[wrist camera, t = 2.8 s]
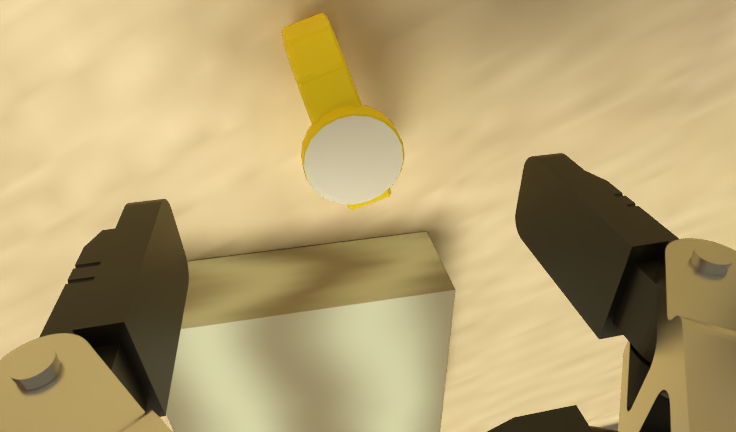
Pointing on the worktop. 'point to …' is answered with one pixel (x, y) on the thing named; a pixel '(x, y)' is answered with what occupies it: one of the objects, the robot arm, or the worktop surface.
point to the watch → (340, 121)
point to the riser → (315, 340)
